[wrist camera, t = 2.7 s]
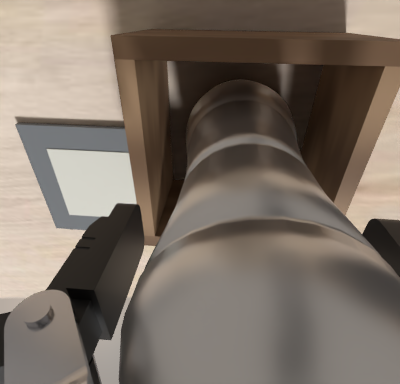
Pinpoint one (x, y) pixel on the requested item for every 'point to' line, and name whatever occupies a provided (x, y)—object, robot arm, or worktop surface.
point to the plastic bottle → (258, 266)
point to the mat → (79, 170)
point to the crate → (257, 53)
